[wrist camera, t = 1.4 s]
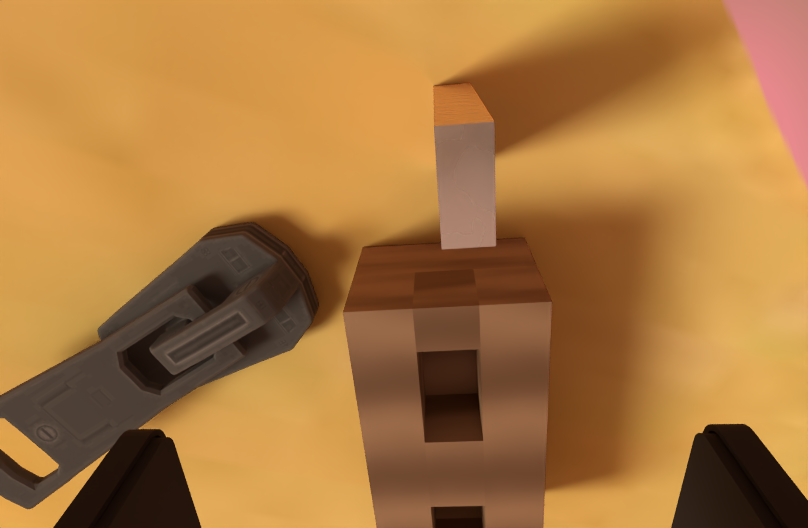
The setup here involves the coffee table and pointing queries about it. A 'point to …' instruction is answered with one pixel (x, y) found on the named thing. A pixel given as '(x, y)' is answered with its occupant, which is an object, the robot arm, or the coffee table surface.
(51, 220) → the coffee table surface
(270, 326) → the zipper pull
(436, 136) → the pinkish wooden bar
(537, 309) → the slotted wooden block
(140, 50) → the coffee table surface
